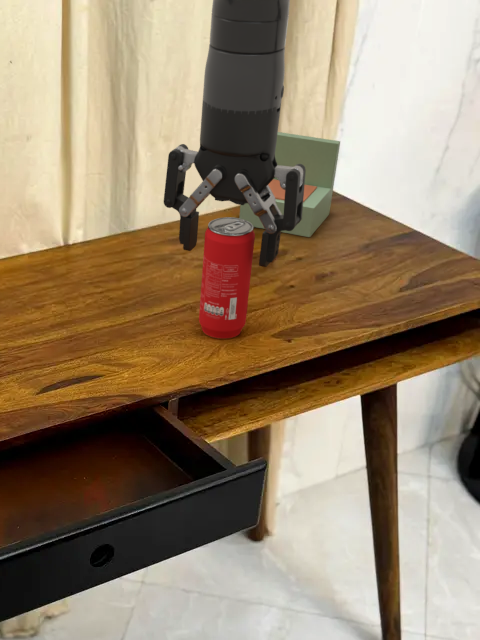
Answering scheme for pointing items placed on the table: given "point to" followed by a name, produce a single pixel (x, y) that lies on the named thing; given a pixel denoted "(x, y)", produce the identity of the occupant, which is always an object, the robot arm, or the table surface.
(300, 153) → the shelf stand
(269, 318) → the table surface
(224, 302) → the beverage can
